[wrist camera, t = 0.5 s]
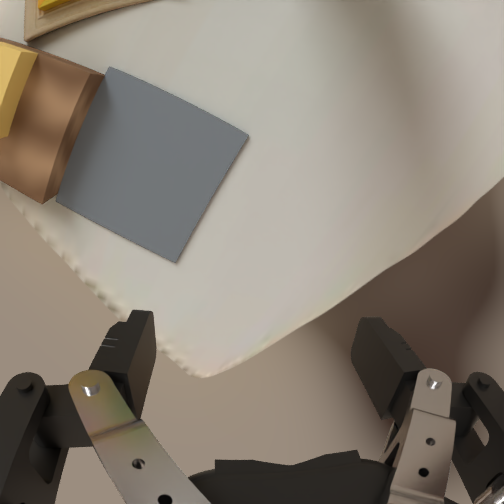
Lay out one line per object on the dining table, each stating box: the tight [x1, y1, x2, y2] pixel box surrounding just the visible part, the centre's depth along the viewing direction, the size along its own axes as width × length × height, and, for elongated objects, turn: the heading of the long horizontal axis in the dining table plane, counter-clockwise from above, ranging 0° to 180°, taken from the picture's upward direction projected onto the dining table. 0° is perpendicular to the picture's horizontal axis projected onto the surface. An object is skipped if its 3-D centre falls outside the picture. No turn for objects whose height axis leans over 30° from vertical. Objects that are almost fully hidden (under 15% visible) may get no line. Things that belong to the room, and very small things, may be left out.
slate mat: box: [56, 67, 249, 263], centre depth 30 cm, size 16×16×1 cm
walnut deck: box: [0, 38, 105, 204], centre depth 23 cm, size 14×22×4 cm, turn 59°
